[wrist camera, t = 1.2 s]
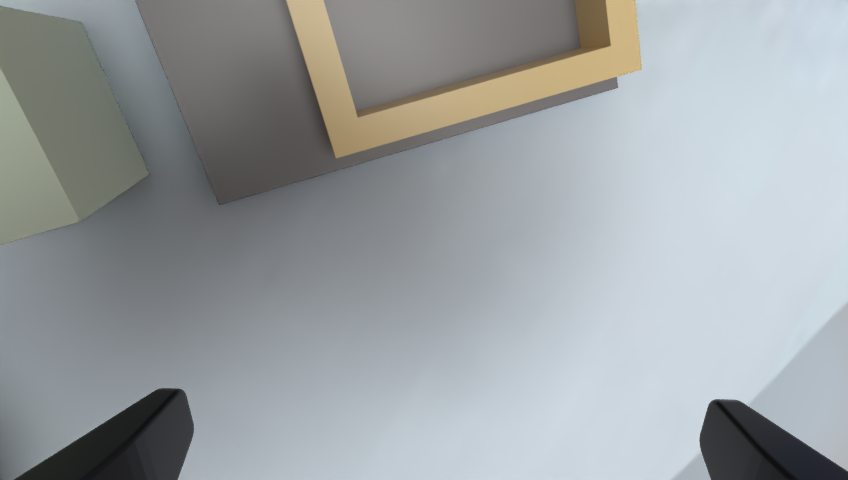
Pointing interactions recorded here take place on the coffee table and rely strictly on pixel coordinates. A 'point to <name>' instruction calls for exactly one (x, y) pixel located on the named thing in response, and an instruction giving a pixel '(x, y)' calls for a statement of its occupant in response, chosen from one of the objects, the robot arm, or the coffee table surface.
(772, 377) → the coffee table surface
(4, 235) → the block
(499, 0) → the socket dock
